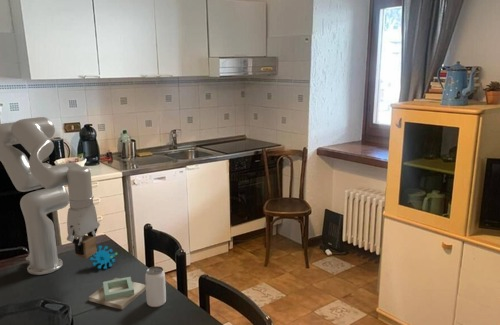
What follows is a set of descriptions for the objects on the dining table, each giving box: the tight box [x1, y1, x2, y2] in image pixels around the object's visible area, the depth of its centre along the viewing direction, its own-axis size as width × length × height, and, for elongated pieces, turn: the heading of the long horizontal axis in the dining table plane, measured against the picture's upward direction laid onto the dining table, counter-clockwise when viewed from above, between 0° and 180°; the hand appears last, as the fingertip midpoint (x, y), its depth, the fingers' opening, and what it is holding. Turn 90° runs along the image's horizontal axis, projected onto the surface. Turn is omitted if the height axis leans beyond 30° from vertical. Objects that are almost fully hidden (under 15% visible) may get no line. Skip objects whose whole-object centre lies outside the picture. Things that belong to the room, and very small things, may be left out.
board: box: [88, 277, 146, 310], centre depth 145 cm, size 14×14×2 cm
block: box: [73, 234, 98, 259], centre depth 146 cm, size 5×5×6 cm
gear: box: [89, 245, 118, 270], centre depth 166 cm, size 11×6×10 cm
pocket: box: [102, 276, 134, 301], centre depth 145 cm, size 10×10×2 cm
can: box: [144, 265, 167, 308], centre depth 139 cm, size 6×6×12 cm
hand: (85, 250), depth 147 cm, fingers closed on block, 4 cm apart
